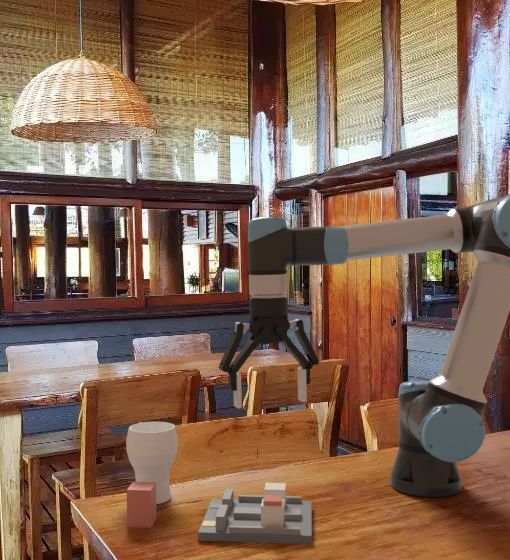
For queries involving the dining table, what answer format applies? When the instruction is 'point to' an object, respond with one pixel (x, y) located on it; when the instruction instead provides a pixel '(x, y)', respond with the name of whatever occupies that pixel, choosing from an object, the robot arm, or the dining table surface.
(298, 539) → the panel
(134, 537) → the dining table surface
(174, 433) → the cup
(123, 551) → the dining table surface
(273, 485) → the block
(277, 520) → the block
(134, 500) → the cap
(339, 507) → the dining table surface
